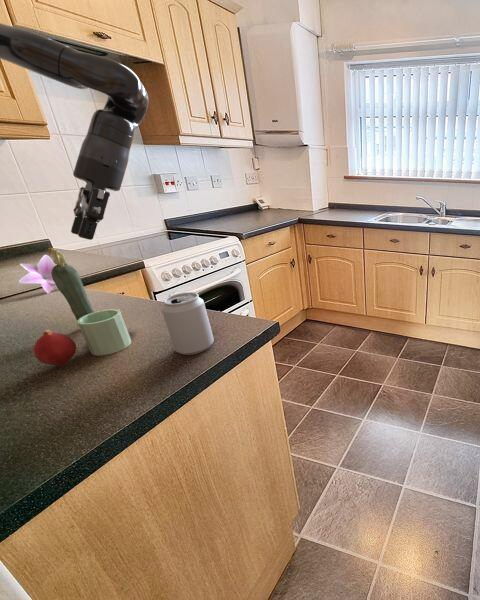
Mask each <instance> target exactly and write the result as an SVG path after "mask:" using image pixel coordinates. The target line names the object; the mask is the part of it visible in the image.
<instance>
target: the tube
mask: <svg viewBox="0 0 480 600" xmlns="http://www.w3.org/2000/svg"><path fill="white" fill-rule="evenodd" d="M76 323H77V325H78V326H79V327H78V328H79V330H80V332H81V335H82V336H83V338H84V341H85V343H86V346H87V347H88V350H89V351H90V354H91V355H93V356H99V357H100V356H108V355H112V354H115V353H118V352H120V351H123V350H125V349H126V348H128V347H130V345H131V344H132V338H131V336H130V332H129V330H128V327H127V326H126V323H125V320H124V317H123V315H122V312H121V311H120V309H116V308H114V309H112V308H110V309H102V310H98V311H94V312H93V313H90V314H87V315H85V316H83V317H81V318H79V319H78V320H77V319H76Z"/></svg>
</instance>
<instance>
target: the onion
mask: <svg viewBox="0 0 480 600" xmlns="http://www.w3.org/2000/svg"><path fill="white" fill-rule="evenodd" d="M32 352H33V355H34V357H35V358H36V359H37V360H38V361H39V362H40V363H42V364H46V365H51V366H58V367H63V366H66V365H67V364H68V363H69V362H70V361H71V359H72V358H73V357H74V355H75V354H76V352H77V345H76V343H75V341H74V340H73V339H72V338H71V337H70V336H68V335H66V334H63V333H59V332H54V331H52V330H49V329H47V330H44V331H43V333H42V335H41V336H40V337H39V338H38V339H37V340H36V341H35V344H34V346H33V350H32Z"/></svg>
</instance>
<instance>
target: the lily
mask: <svg viewBox="0 0 480 600" xmlns="http://www.w3.org/2000/svg"><path fill="white" fill-rule="evenodd" d="M19 265H20V266H21V267H22V268H24V270H26V271H27V272H28V273H27V274H25V275H24V276H22V277H21V278H20V279H19V280H18V283H19V284H40V285H41V287H42V289H43V290H44V292H45V293H46V294H50V293H51V292H52V291H53V289H54V288H55V286H56V284H55V282H54V281H53V278H52V275H51V272H52V269H53V267H54V266H56V264H55V263H54V261H53V258H51V257H50V256H49V254H48V255H47V254H44V255H42V257H41V258H40V259H39V261H38V262H37V264H36V265H35V264H30V263H21V262H20V263H19Z"/></svg>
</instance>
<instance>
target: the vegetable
mask: <svg viewBox="0 0 480 600" xmlns="http://www.w3.org/2000/svg"><path fill="white" fill-rule="evenodd" d="M47 251H48V256H49V255H51V257H52V261H53V262H54V264H55V266H54V267H53V269H52V272H51V275H52V278H53V281H54V282H55V286H56V287H57V289H58V291H59V292H60V294H62V296H63V297H64V298H65V300H66V301H67V303H68V305H69V308H70V310H71V312H72V314H73V315H74V317H75V319H76V321H77V320H78V319H79V318H81V317H83V316H85V315H87V314H90V313H93V312H95V310H94V307H93V305H92V304H91V301H90V300H89V298H88V294H87V293H86V290H85V287H84V284H83V281H82V279H81V276H80V274H79V272H78V270H77V269H76V268H75V267H73V266H72V265H71V264H68V263H67V258H66V256H65V255H64V254H63V253H61V252H60V251H58V250H57V249H55V248H54V247H48V248H47Z"/></svg>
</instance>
